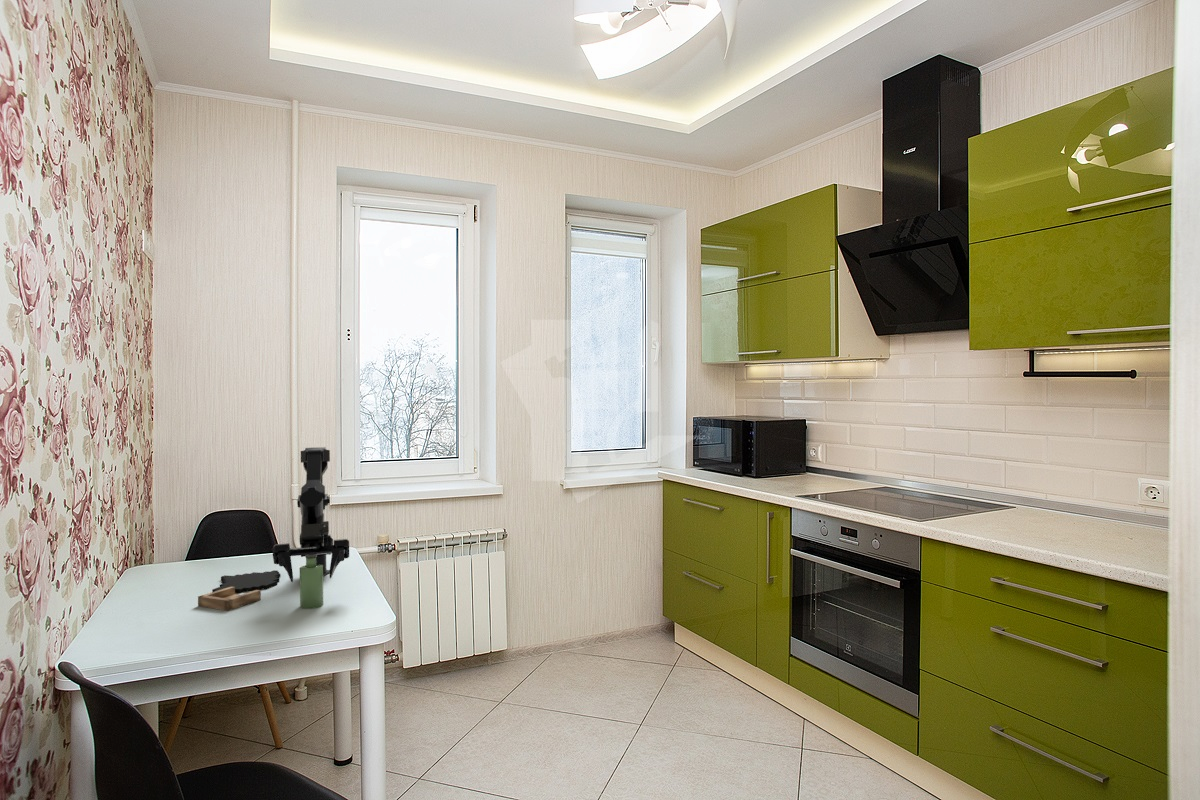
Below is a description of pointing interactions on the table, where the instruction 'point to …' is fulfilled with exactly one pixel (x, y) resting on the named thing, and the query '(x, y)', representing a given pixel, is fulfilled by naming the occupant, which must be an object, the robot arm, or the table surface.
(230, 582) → the decorative item
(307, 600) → the bottle
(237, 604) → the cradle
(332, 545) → the robot arm
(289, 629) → the table surface
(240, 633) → the table surface
